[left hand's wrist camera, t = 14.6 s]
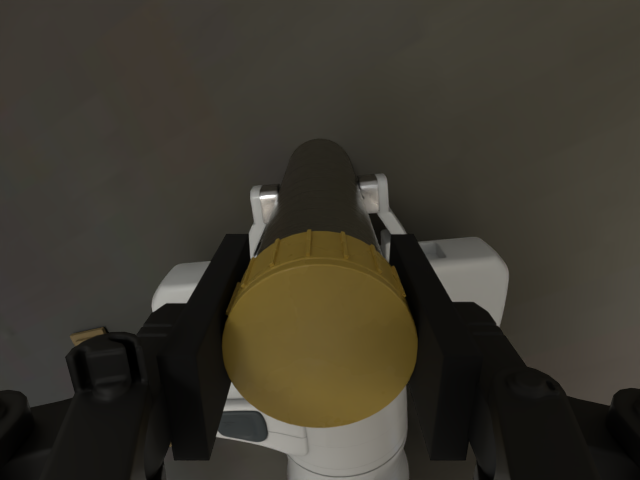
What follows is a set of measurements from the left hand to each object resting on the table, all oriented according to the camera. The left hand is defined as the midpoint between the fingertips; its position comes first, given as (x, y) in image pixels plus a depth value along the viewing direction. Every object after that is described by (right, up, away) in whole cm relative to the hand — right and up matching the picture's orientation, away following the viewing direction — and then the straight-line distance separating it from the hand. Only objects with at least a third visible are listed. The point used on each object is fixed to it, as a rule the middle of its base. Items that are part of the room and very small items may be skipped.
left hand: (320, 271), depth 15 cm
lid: (0, -2, -4) cm, 4 cm away
